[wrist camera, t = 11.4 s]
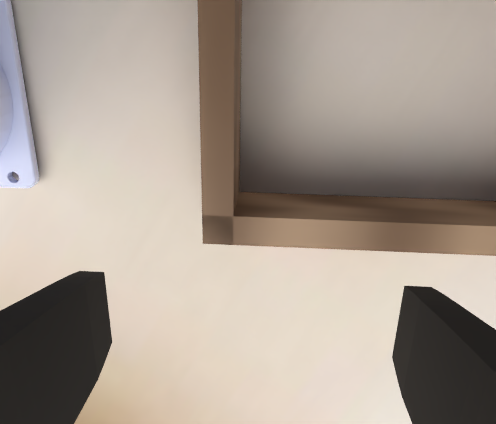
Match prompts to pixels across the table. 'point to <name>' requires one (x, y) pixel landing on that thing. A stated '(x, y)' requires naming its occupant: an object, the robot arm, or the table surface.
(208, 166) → the frame
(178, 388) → the table surface
